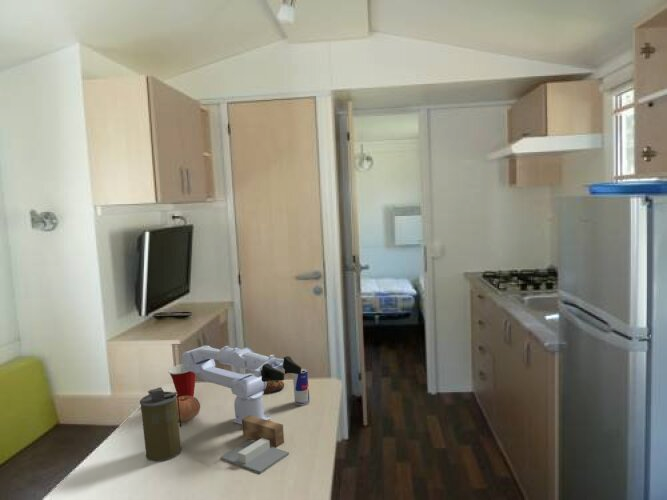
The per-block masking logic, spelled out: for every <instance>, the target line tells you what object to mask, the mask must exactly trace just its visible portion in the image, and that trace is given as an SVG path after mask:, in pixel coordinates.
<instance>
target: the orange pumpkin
mask: <svg viewBox="0 0 667 500" xmlns="http://www.w3.org/2000/svg"><path fill="white" fill-rule="evenodd" d="M178 399H179V409H180V419H181V423H182V422H188V421H191V420H193V419H194V418H195V417H196V416H198V414H199V413H200V409H201V402H200V401H199V399H198V398H197V397H195V396H181V397H178ZM176 405H177V415H178V422H180V421H179V411H178V401H177V397H176Z"/></svg>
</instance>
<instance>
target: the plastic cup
mask: <svg viewBox="0 0 667 500" xmlns="http://www.w3.org/2000/svg"><path fill="white" fill-rule="evenodd" d="M167 372H168V374H169V375H170V377H171V380H172V382H173V386H174V389H175V392H177V394H178V397H181V396H193V397H195V396H194V395H195V387H196V374H195V373H193V372H190V371H187V370H186V369H185V367H184V365H183V363H181V364H177V365H175V366H173V367H170V368H169V369H168V371H167ZM177 394H176V395H177Z"/></svg>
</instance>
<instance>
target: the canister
mask: <svg viewBox="0 0 667 500" xmlns="http://www.w3.org/2000/svg"><path fill="white" fill-rule="evenodd" d="M147 393H148V394H147V395H144V396H143V397H142V398H141V399H140V400H139V405H140V410H141V412H140V413H141V421H142V428H143V429H142V430H143V438H144V447H145V448H144V449H145V458H146V460H147V461H149V462H153V463H158V462H159V463H160V462H166V461H169V460H172V459H174V458H176V457H177V456H178V455H180V454H181V453H182V445H181V437H180V428H182V422H181V419H180V409H179V399H178V394H177V392H176V391H174V392H172V391H164V390H163V388H162V387H161V386H160V387H156V388H154V389H150V390H148V391H147ZM176 398H177V401H178V411H179V421H178V415H177V405H176Z"/></svg>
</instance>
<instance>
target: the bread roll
mask: <svg viewBox="0 0 667 500" xmlns="http://www.w3.org/2000/svg"><path fill="white" fill-rule="evenodd" d="M266 383H267V385H266V388H265V390H264V394H267V395H268V394H276V393H280V392H281V391H283V389H284V388H285V383H284V380H282V381H278V380H272V381H266Z"/></svg>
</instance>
